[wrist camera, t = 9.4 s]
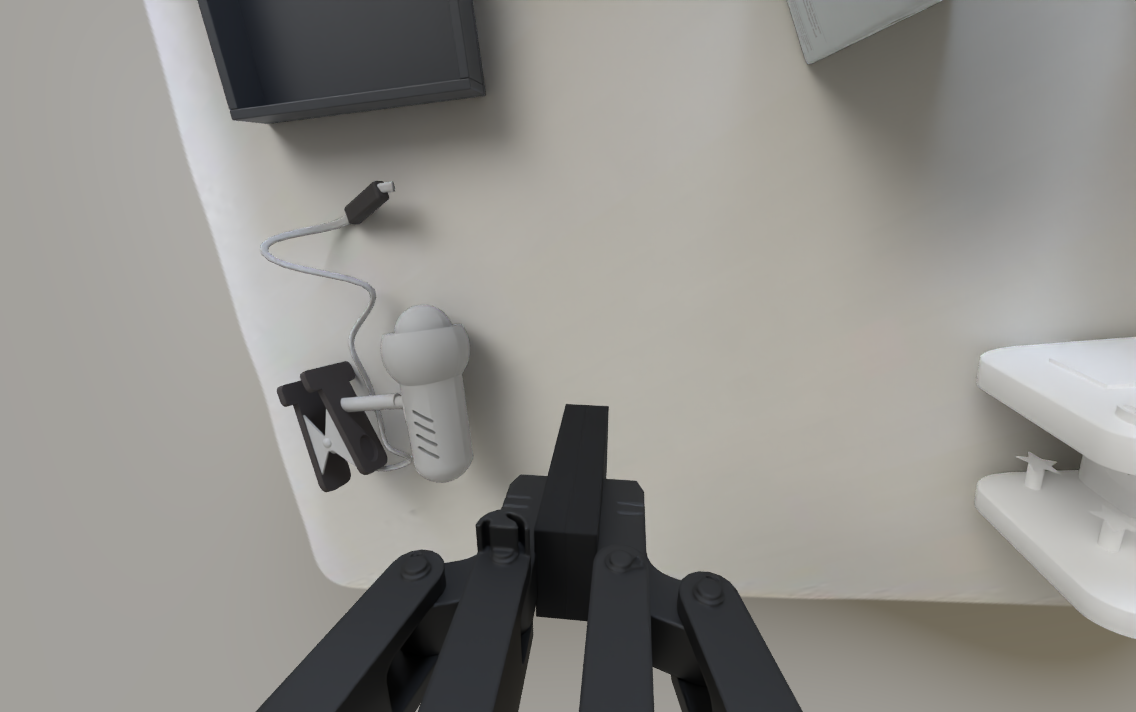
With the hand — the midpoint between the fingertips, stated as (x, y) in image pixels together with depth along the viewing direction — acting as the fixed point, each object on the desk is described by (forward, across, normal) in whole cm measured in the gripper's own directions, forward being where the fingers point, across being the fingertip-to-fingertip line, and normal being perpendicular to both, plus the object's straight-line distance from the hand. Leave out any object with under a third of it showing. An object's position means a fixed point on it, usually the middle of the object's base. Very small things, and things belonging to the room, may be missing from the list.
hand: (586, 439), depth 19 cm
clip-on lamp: (+15, -14, -2) cm, 20 cm away
